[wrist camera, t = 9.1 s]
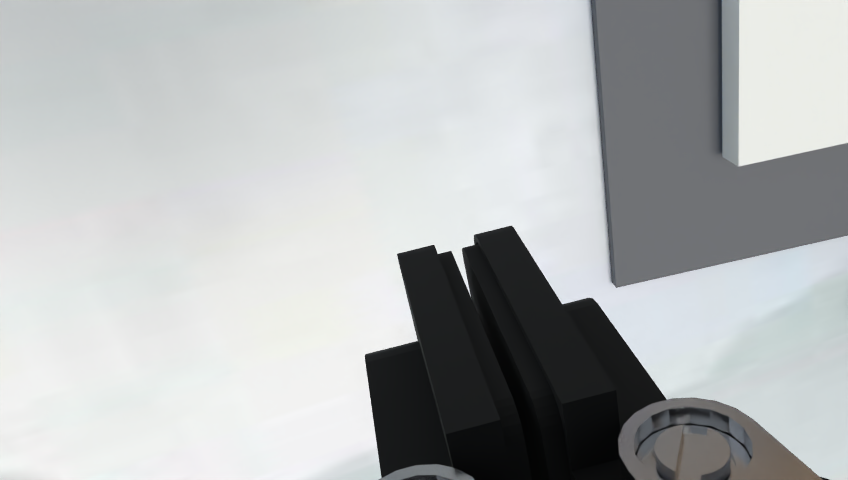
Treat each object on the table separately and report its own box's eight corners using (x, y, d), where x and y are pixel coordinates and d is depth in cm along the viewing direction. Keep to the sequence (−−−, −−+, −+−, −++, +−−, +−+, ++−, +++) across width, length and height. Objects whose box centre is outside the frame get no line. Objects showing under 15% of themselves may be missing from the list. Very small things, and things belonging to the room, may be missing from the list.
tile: (739, -22, 34) (927, -60, 35) (717, -25, 36) (896, -61, 36) (738, 166, 38) (908, 129, 38) (718, 154, 40) (881, 119, 40)
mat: (590, -13, 36) (594, -12, 35) (908, -77, 37) (917, -77, 36) (612, 282, 43) (616, 287, 42) (881, 222, 44) (888, 226, 43)
